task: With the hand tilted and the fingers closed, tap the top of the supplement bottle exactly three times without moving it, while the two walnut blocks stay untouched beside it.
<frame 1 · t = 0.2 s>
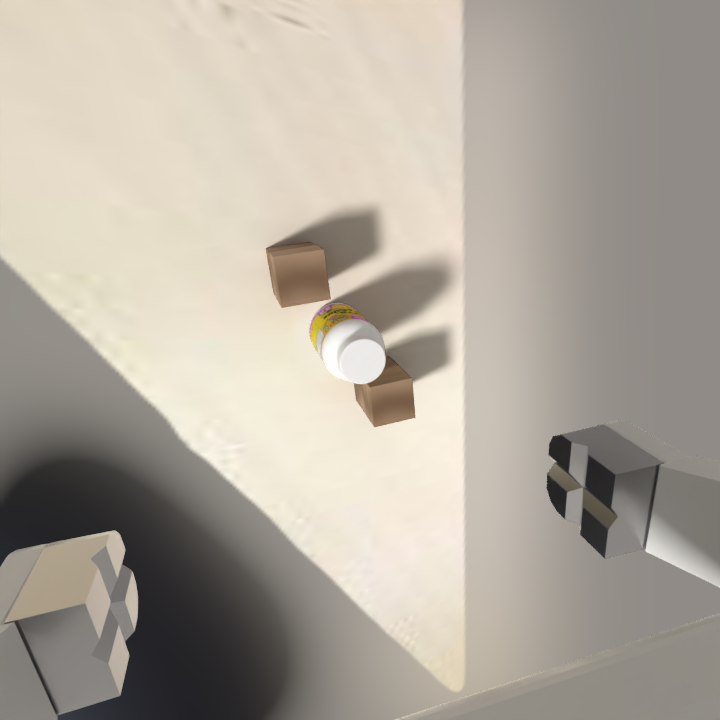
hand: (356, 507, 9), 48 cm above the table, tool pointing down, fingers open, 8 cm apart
supplement bottle: (334, 327, 58), on the table
walnut block seven: (372, 378, 62), on the table
walnut block one: (291, 267, 54), on the table
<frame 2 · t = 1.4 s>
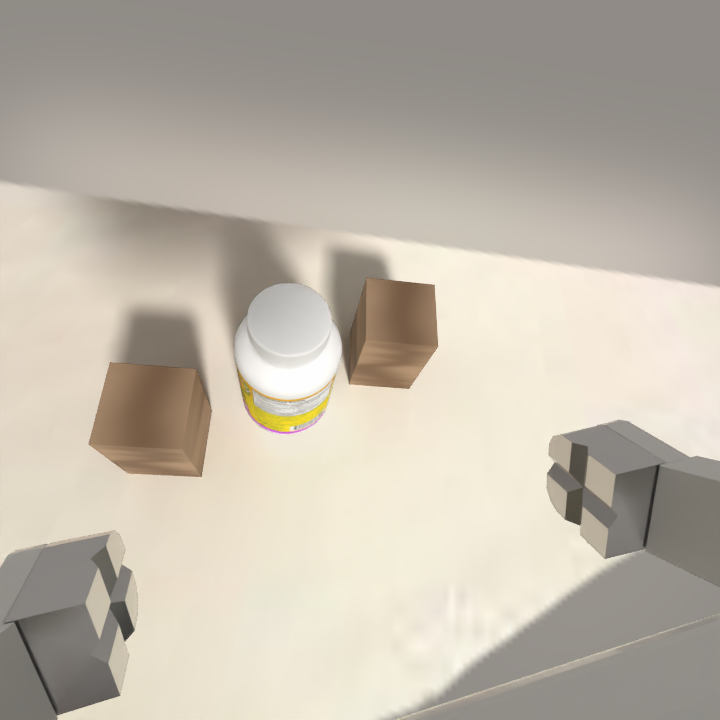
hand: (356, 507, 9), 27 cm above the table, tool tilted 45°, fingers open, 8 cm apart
supplement bottle: (286, 397, 38), on the table
walnut block seven: (379, 359, 41), on the table
walnut block one: (171, 440, 35), on the table
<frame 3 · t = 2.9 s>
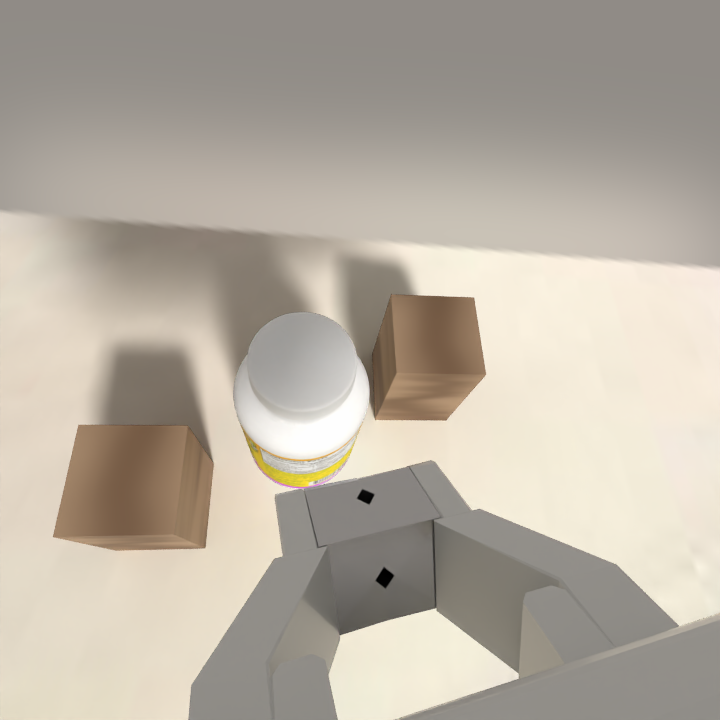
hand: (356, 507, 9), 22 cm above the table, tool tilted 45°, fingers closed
supplement bottle: (301, 441, 32), on the table
walnut block seven: (408, 386, 34), on the table
walnut block one: (167, 505, 29), on the table
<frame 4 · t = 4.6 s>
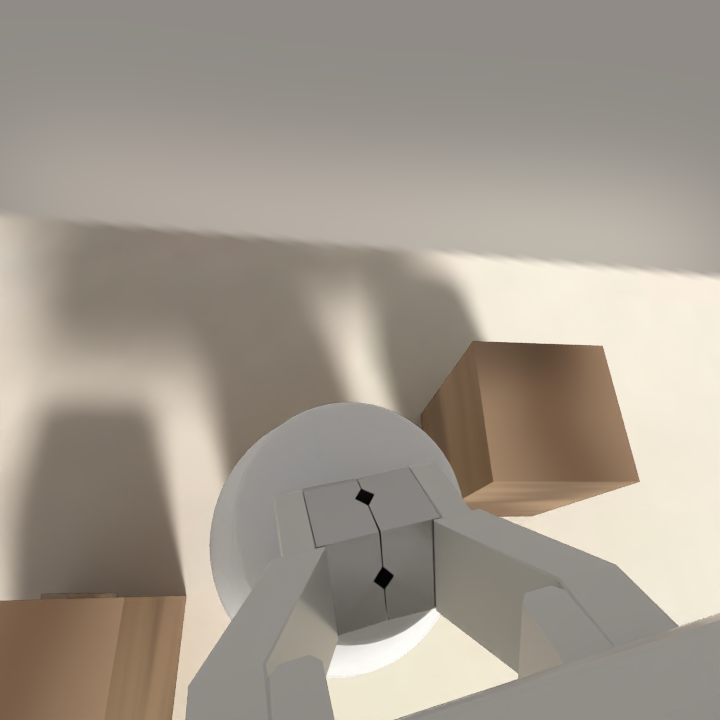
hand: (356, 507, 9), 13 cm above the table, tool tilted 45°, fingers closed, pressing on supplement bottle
supplement bottle: (320, 554, 21), on the table, touching gripper
walnut block seven: (474, 463, 24), on the table
walnut block one: (110, 670, 18), on the table
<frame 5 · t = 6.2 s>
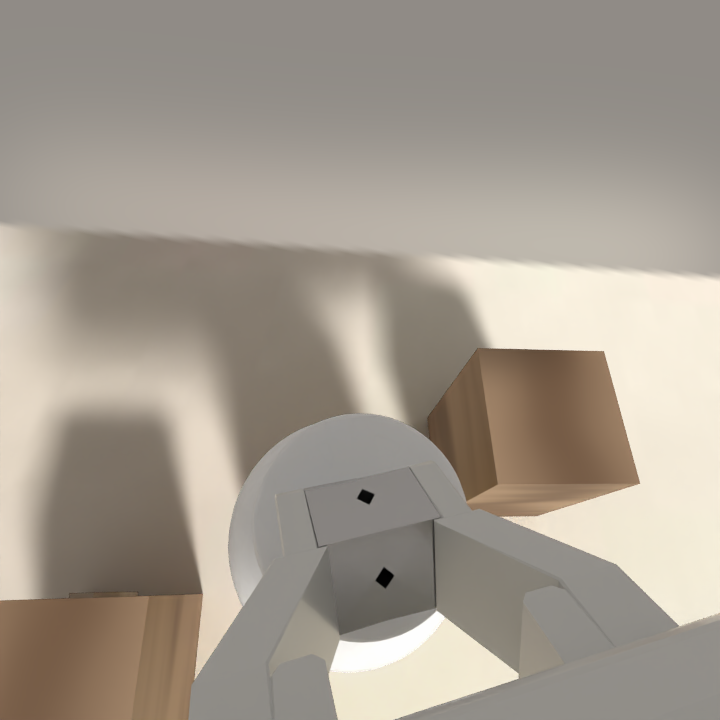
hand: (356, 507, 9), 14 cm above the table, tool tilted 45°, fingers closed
supplement bottle: (331, 553, 22), on the table
walnut block seven: (480, 465, 24), on the table
walnut block one: (131, 665, 19), on the table
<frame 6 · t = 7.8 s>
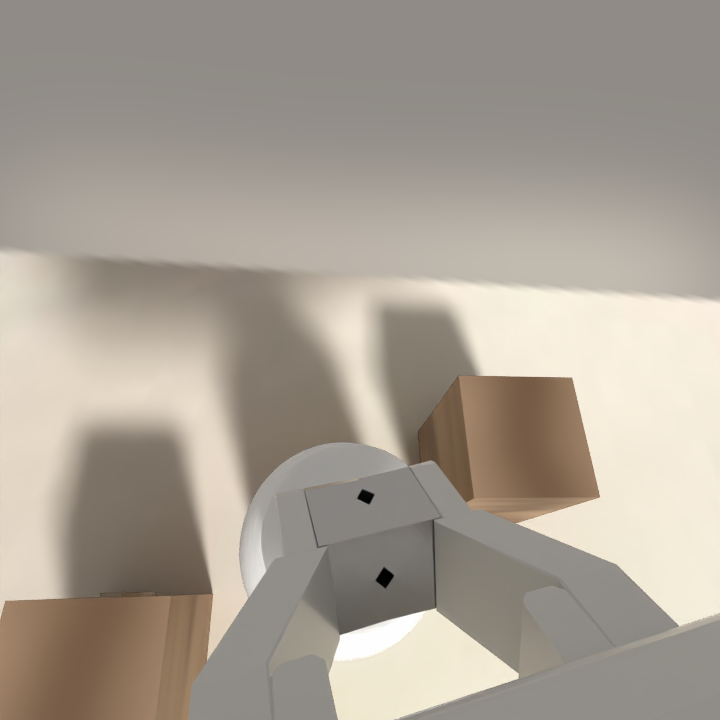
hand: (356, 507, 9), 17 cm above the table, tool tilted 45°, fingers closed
supplement bottle: (329, 557, 24), on the table
walnut block seven: (465, 476, 26), on the table
walnut block one: (149, 658, 21), on the table
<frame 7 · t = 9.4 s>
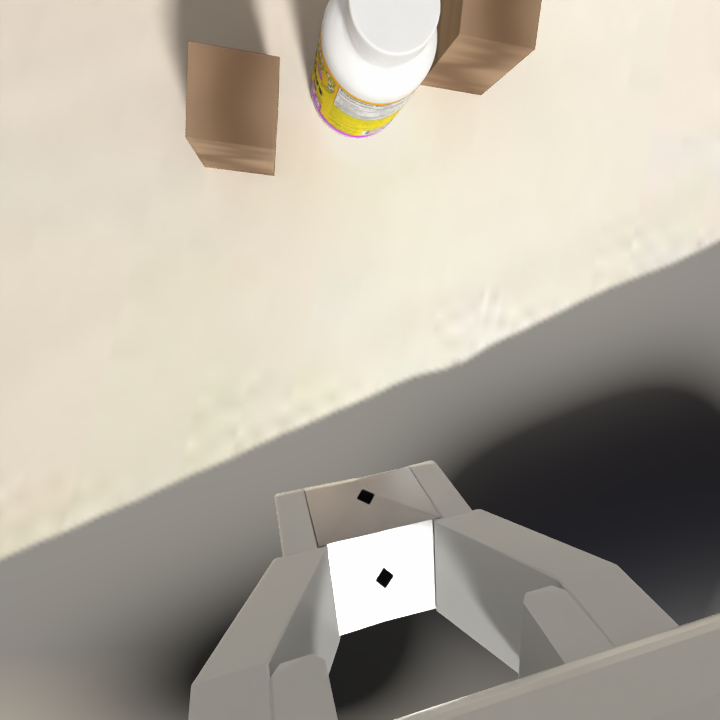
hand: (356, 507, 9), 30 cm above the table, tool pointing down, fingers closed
supplement bottle: (353, 95, 36), on the table
walnut block seven: (454, 54, 37), on the table
walnut block one: (241, 135, 35), on the table
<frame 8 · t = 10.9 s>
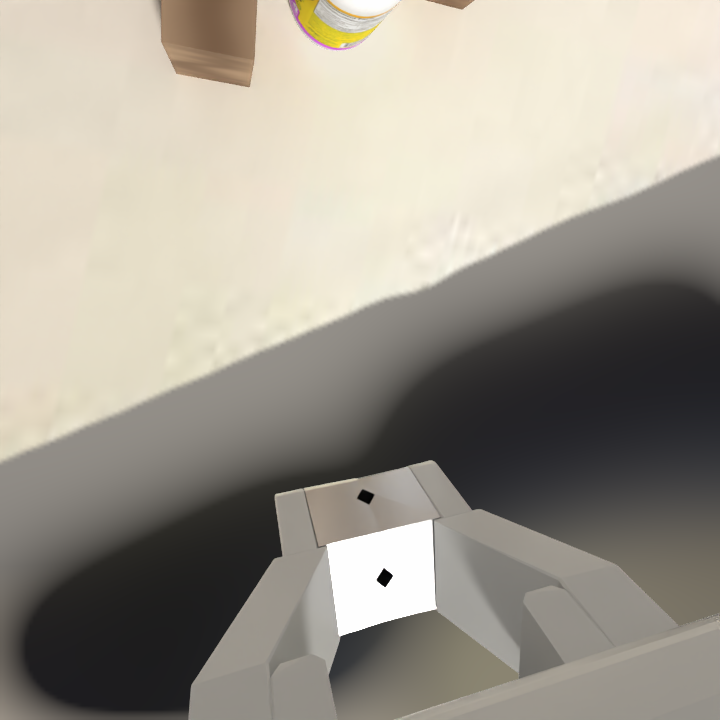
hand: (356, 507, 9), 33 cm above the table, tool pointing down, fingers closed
supplement bottle: (332, 1, 35), on the table
walnut block one: (214, 40, 34), on the table
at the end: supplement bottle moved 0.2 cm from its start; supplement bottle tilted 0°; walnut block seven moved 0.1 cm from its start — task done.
